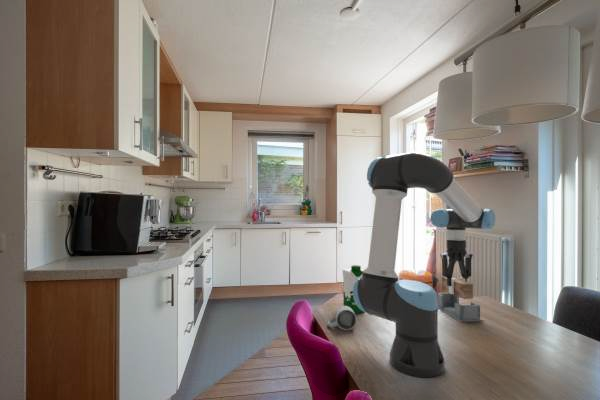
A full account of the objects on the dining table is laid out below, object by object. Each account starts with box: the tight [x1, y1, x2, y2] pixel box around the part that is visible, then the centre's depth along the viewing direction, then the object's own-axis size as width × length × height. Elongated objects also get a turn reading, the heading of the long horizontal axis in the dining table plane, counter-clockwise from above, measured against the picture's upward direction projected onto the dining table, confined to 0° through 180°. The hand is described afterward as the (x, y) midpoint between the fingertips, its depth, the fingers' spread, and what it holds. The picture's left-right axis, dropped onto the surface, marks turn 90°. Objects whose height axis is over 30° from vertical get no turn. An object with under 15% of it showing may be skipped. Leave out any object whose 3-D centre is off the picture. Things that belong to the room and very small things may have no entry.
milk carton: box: [342, 264, 365, 314], centre depth 140 cm, size 9×9×20 cm
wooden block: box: [441, 276, 474, 300], centre depth 137 cm, size 14×4×6 cm, turn 13°
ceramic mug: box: [327, 305, 358, 331], centre depth 122 cm, size 11×8×8 cm
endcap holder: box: [436, 292, 484, 323], centre depth 137 cm, size 20×10×6 cm, turn 5°
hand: (457, 293), depth 137 cm, fingers closed on wooden block, 4 cm apart
